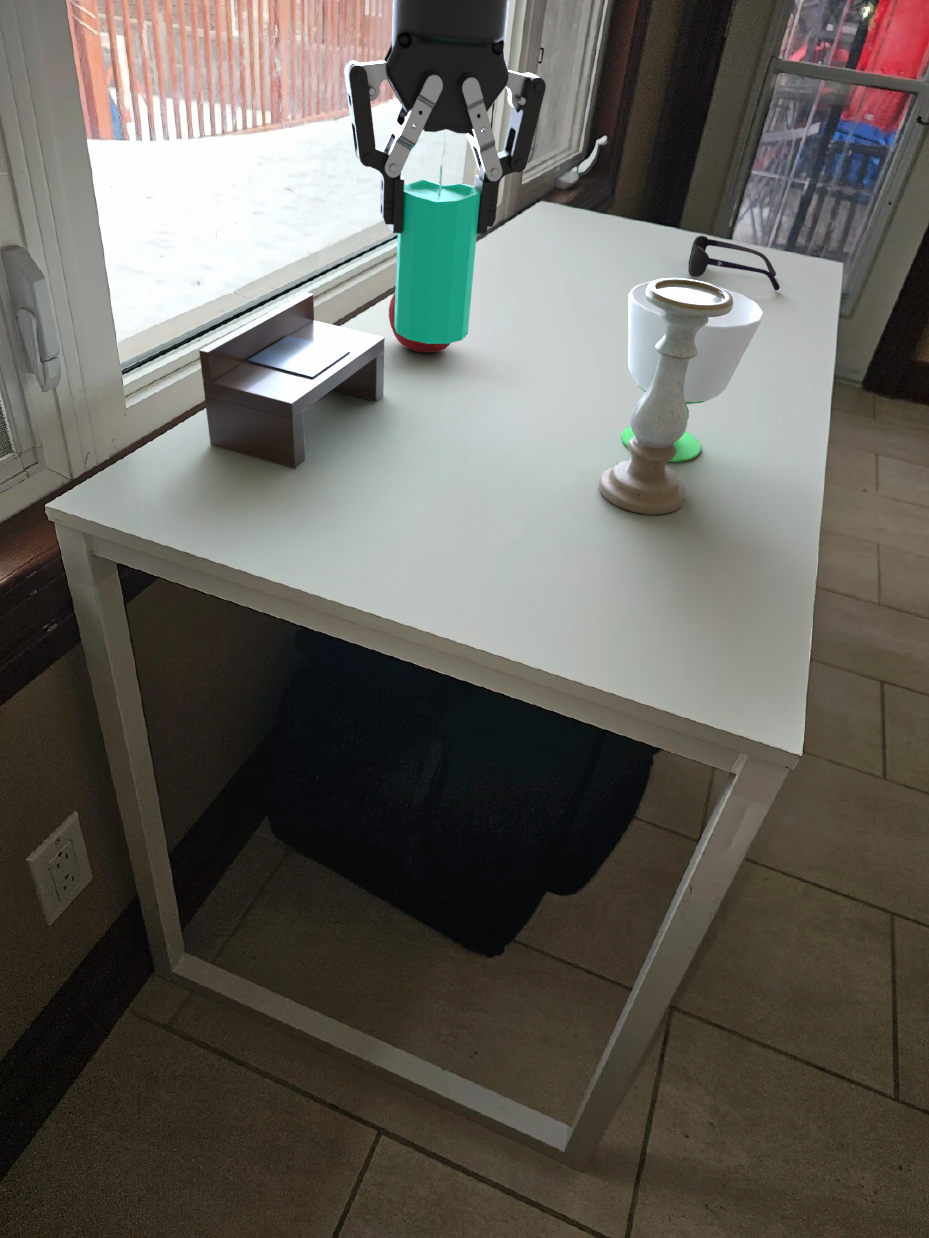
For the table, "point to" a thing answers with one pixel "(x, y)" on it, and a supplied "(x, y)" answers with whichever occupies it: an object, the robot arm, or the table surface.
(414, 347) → the apple
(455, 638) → the table surface
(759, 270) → the sunglasses
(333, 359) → the shelf
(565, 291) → the table surface
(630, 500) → the candle holder
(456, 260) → the candle
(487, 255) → the table surface
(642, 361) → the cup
